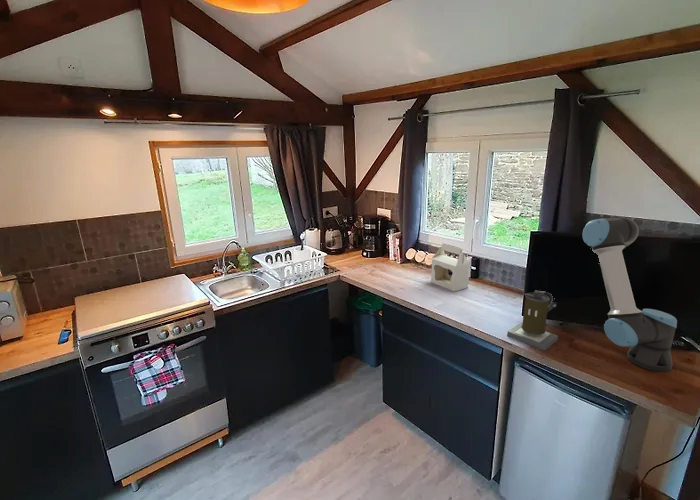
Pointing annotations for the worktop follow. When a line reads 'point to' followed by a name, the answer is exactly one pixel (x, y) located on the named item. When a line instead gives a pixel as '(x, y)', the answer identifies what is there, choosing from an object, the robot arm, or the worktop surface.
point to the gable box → (457, 267)
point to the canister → (535, 303)
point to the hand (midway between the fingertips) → (532, 313)
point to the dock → (533, 337)
